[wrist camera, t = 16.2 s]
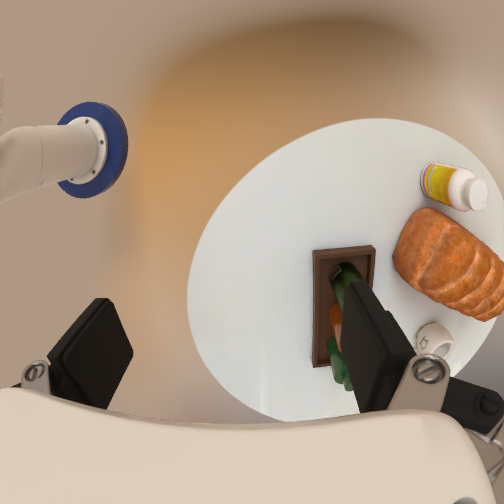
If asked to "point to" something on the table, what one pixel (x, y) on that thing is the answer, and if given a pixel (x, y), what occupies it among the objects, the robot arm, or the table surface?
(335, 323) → the amber bottle
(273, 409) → the table surface
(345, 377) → the green bottle
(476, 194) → the supplement bottle
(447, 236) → the bread
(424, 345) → the mug
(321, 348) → the tray
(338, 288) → the beer can
